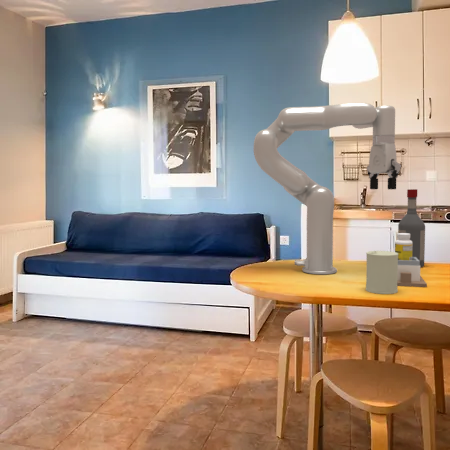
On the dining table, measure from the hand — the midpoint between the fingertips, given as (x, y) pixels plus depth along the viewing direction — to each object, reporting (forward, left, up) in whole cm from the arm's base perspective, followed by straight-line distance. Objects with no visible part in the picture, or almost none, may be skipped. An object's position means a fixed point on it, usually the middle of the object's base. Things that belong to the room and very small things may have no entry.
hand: (382, 189), depth 162 cm
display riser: (+6, -15, -30) cm, 34 cm away
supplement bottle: (+6, -15, -24) cm, 29 cm away
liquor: (+12, +16, -31) cm, 36 cm away
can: (-2, -31, -31) cm, 43 cm away
